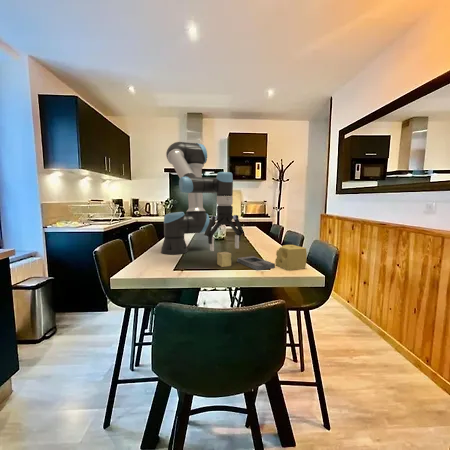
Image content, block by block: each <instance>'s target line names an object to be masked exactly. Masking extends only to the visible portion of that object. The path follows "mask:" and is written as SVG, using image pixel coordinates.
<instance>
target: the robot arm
mask: <svg viewBox="0 0 450 450" xmlns="http://www.w3.org/2000/svg"><path fill="white" fill-rule="evenodd" d="M165 156H166V159H167V161H168V163H169V164H171V165H172V166H173V169H174V170H175V172H176V174H177V176H178V177H179V180H178V187H179V191H180V192H181V193H187V194H188V196H187V197H188V209H187V210H186V211H185V212H186V213H185V212H184V211H177V212H176V211H175V212H169V213H166V214H165V215H164V216H163V235H164V237H163V238H164V239H163V242H162V245H161V251H160V253H162V254H164V255H181V254H182V255H183V254H186V253H188V245H187V243H186V240H185V235H186V234H187V235H188V234H203V233H204V236H205V237H208V239H207V240H208V241H207V243H208V244H209V251H210V252H214V251H215V238H214V235H215V234H216V232H217V231H218V229H219V228H220V227H221V226H226V225H227V226H229V227H230V228H231V229H232V231H233V232H234V233H235V235H234V249H238V250H239V249H240V242H241V236H242V235H243V234H244V233H245V232H244V229H243V226H242V224H241V222H240V219H239V215H237V214H234V215H233V212H234V210H233V209H234V207H233V203H234V202H233V200H234V199H233V196H234V195H233V194H234V189H233V188H234V179H233V173H232V172H230V171H219V172H217V174H216V177H203V171H202V170H203V168H204V166H205V164H206V163H207V161H208V150H207V148H206V146H205V145H204V144H202V143H197V142H185V141H176V142H174V143H171V144H170V145H169V146H168V148H167V149H166V153H165ZM203 194H216V204H217V206H216V214H217V215H211V216H209V214H208V213H206V211H207V210H205V208H204V199H203V198H204V197H203ZM233 220H234V222H233ZM215 222H216V223H215Z"/></svg>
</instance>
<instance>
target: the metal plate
mask: <svg viewBox="0 0 450 450" xmlns="http://www.w3.org/2000/svg"><path fill="white" fill-rule="evenodd" d="M236 262H237V263H239V264H241V265H244V266H246V267H248V268H251V269H253V270H256V271H264V270H270V269H275V268H276V263H273V262H271V261H268V260H266V259H263V258H259V257H257V256H255V255H250V256H244V257H243V256H242V257H236Z"/></svg>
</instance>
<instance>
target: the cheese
mask: <svg viewBox="0 0 450 450" xmlns="http://www.w3.org/2000/svg"><path fill="white" fill-rule="evenodd" d="M307 252H308V251H307V248H306V247H303V246H299V245H295V244H284V245H282V246H280V247H279V248H278V249H277V250H276V254H275V255H276V258H275V263H274V264H275V267H278V268H279V267H280V268H281V269H284V270H286V271H295V270H303V269H306V265H307V257H308V256H307Z"/></svg>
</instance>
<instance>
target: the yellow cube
mask: <svg viewBox="0 0 450 450" xmlns="http://www.w3.org/2000/svg"><path fill="white" fill-rule="evenodd" d="M216 255H217V256H216V258H217V261H216V263H217V264H216V265H217V266H218V267H219V266H220V267H221V268H223V267H231V266H232V253H231V252H228V251H221V252H217V253H216Z"/></svg>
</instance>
